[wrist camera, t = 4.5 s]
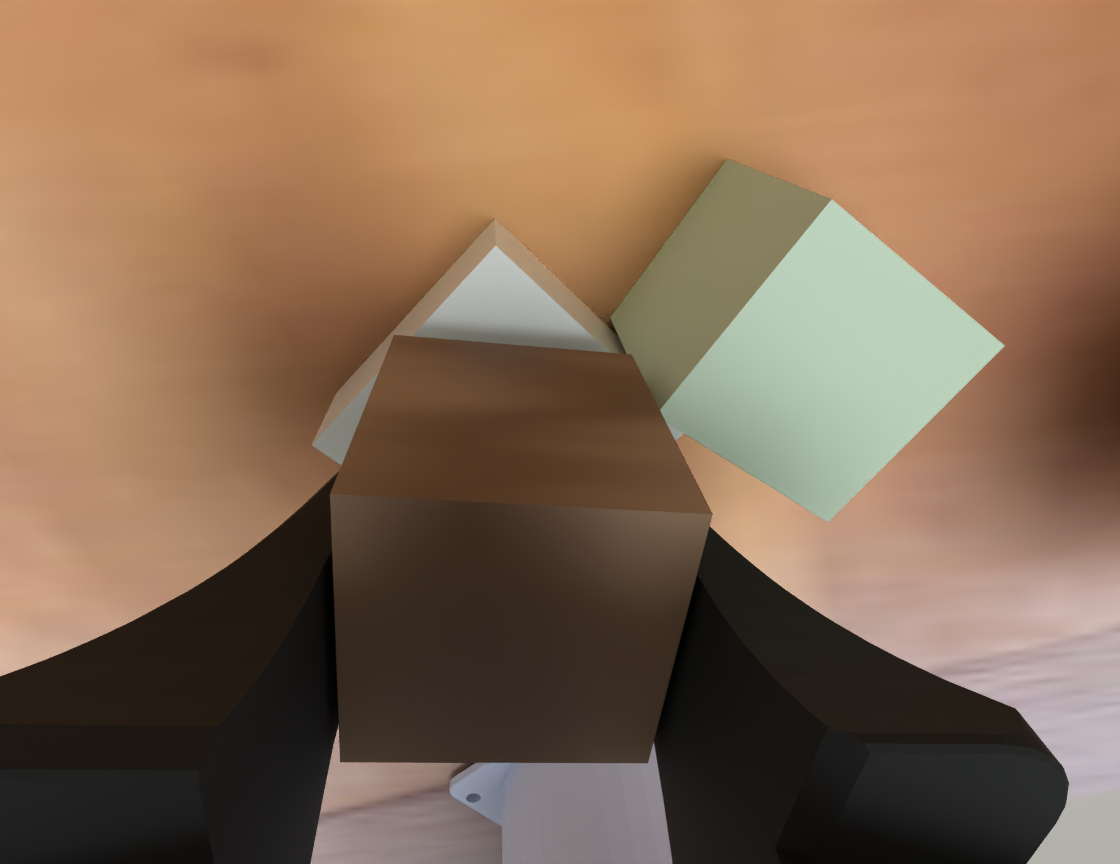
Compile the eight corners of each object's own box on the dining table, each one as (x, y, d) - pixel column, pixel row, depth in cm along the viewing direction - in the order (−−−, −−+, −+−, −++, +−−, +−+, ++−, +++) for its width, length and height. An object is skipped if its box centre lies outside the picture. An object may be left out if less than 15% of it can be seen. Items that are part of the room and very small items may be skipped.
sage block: (859, 266, 17) (1005, 345, 12) (740, 403, 19) (827, 522, 14) (726, 158, 16) (831, 198, 11) (609, 317, 17) (655, 415, 12)
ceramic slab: (661, 376, 18) (690, 428, 16) (509, 514, 20) (511, 582, 17) (495, 216, 16) (495, 245, 13) (338, 388, 18) (311, 445, 15)
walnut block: (631, 354, 13) (713, 514, 8) (598, 544, 15) (648, 763, 10) (393, 334, 13) (330, 493, 8) (392, 534, 15) (340, 762, 10)
